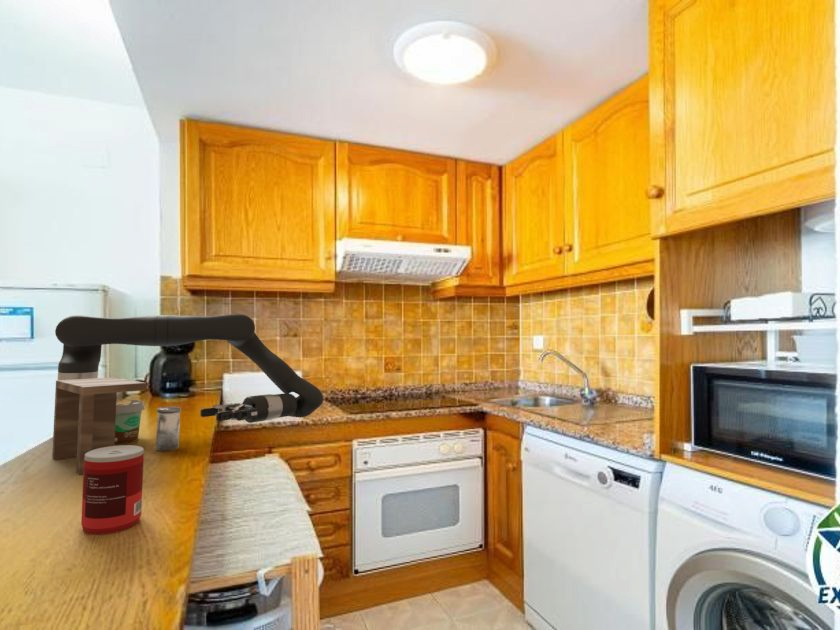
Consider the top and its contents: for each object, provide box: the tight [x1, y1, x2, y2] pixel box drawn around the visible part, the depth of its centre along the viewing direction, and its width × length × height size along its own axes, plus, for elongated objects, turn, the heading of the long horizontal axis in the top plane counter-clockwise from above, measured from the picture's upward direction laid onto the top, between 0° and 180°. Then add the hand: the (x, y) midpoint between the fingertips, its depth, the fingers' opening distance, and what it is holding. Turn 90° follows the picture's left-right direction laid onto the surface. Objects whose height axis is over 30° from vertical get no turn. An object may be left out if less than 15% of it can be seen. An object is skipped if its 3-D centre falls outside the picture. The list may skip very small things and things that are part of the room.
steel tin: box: [155, 405, 182, 452], centre depth 117 cm, size 5×5×10 cm
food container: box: [115, 399, 145, 445], centre depth 124 cm, size 12×6×10 cm, turn 179°
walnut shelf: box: [51, 376, 148, 475], centre depth 105 cm, size 18×12×18 cm, turn 52°
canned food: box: [80, 444, 145, 535], centre depth 71 cm, size 8×8×11 cm
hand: (208, 415), depth 125 cm, fingers open, 8 cm apart
